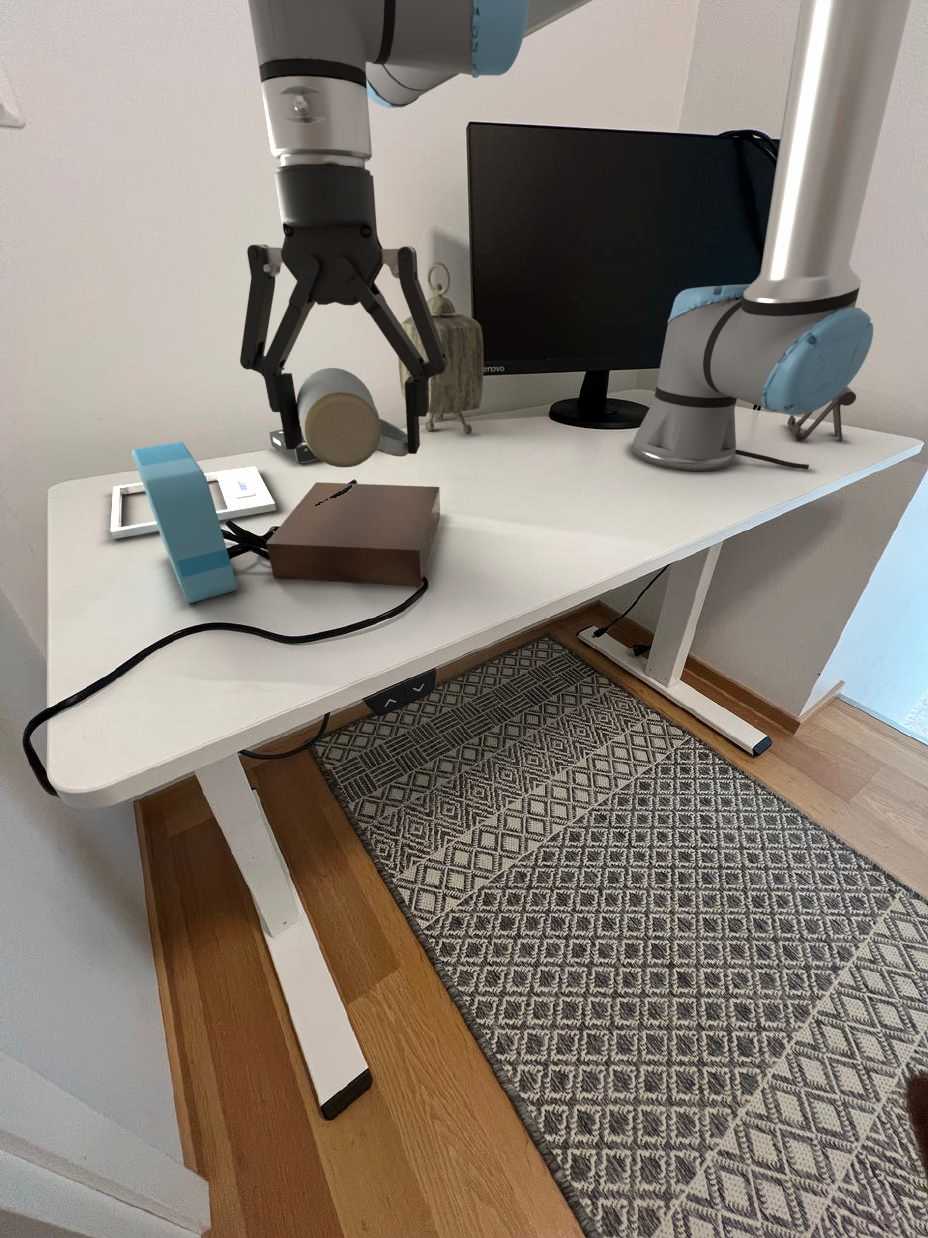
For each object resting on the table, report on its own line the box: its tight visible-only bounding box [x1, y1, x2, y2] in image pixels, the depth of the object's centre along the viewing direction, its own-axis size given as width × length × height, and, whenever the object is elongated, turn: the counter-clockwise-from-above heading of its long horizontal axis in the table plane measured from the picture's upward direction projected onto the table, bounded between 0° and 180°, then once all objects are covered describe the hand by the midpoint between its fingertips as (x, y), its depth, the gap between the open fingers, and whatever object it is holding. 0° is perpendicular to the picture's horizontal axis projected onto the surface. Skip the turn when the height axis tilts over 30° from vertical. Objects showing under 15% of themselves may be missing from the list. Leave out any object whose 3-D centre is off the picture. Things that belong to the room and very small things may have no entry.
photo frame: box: [110, 466, 277, 540], centre depth 70 cm, size 15×1×18 cm
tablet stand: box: [786, 386, 857, 442], centre depth 93 cm, size 9×8×8 cm
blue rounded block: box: [131, 441, 238, 604], centre depth 52 cm, size 12×4×12 cm, turn 33°
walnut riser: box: [265, 481, 441, 587], centre depth 60 cm, size 15×16×4 cm
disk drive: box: [268, 425, 320, 464], centre depth 88 cm, size 10×3×15 cm
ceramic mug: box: [296, 367, 409, 468], centre depth 52 cm, size 11×8×8 cm
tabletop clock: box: [397, 261, 485, 435], centre depth 90 cm, size 14×9×25 cm, turn 30°
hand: (354, 447), depth 54 cm, fingers closed on ceramic mug, 11 cm apart
